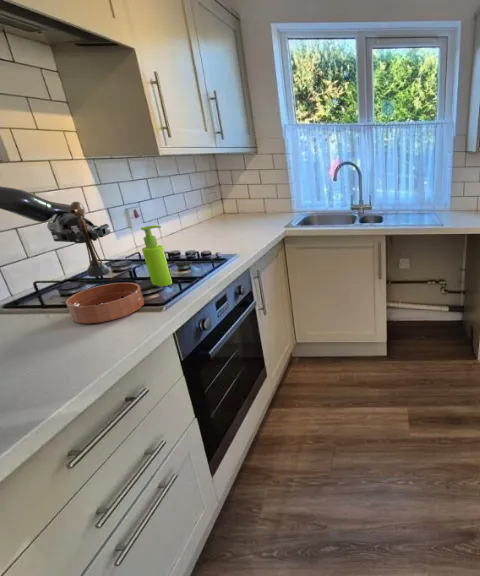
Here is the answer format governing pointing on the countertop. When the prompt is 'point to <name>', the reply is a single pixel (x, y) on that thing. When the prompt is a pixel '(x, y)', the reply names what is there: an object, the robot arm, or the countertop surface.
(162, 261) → the soap dispenser
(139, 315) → the countertop surface
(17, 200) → the robot arm
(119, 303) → the bowl
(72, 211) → the wooden tabletop sculpture
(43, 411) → the countertop surface
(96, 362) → the countertop surface
